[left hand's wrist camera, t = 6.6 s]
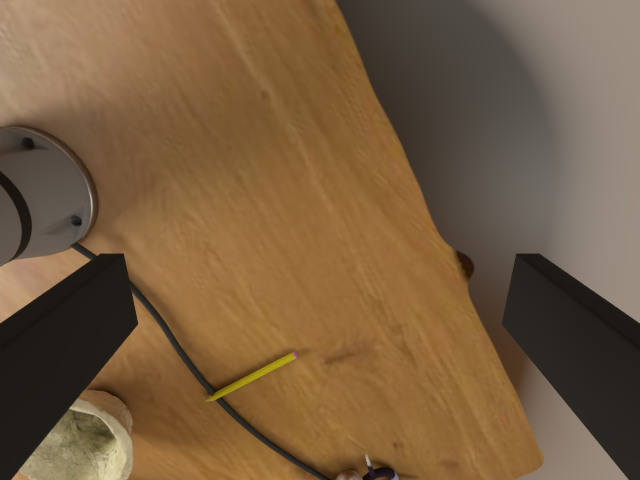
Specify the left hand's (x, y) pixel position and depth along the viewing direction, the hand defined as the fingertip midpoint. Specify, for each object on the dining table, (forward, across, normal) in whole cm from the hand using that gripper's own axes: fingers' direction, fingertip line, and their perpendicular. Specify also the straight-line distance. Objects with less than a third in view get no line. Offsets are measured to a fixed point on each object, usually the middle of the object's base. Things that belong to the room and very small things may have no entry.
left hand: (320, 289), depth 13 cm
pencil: (+32, +10, +32) cm, 47 cm away
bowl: (+32, +34, +38) cm, 60 cm away
